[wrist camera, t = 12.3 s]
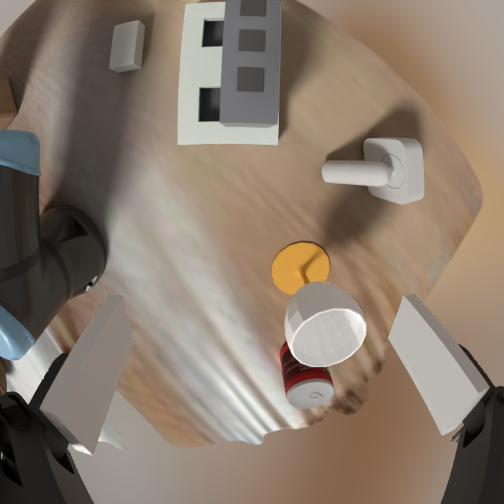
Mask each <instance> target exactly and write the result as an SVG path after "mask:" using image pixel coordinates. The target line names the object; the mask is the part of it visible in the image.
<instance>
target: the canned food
mask: <svg viewBox="0 0 504 504" xmlns="http://www.w3.org/2000/svg"><path fill="white" fill-rule="evenodd" d="M280 361H281V367H282V374H283V380H284V386H285V393H286V398H287V401H288V403H289V404H290V405H291V406H293V407H296V408H303V409H306V408H313V407H317V406H320V405H322V404H324V403H326V402H327V401H329V400H330V399H331V398H332V396H333V395H334V392H335V390H334V385H333V382H332V378H331V375H330V372H329V369H328V366H326V367H311V366H308V365H305V364H302V363H300V362H299V361H298V360H297V359H296V358H295V357H294V356H293V355H292V353H291V350H290V348H289V346H288V343H287V342H286V343H285V344H284V345H283V346H282V348H281V351H280Z"/></svg>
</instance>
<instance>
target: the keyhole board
mask: <svg viewBox="0 0 504 504" xmlns="http://www.w3.org/2000/svg"><path fill="white" fill-rule="evenodd" d="M224 14H225V2H207V3H193V4H186V7H185V16H184V25H183V35H182V46H181V59H180V75H179V97H178V145H188V144H262V145H278V128H279V105H278V124H277V125H275V126H272V127H269V128H253V127H225V126H223V125H222V124H220V90H221V66H222V46H223V29H224ZM280 65H281V4H280ZM279 100H280V69H279Z"/></svg>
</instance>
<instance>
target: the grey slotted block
mask: <svg viewBox="0 0 504 504" xmlns="http://www.w3.org/2000/svg"><path fill="white" fill-rule="evenodd" d="M279 69H280V0H226V1H225V14H224V29H223V46H222V66H221V90H220V124H222V125H223V126H225V127H253V128H269V127H272V126H275V125H277V124H278V105H279Z"/></svg>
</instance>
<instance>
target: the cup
mask: <svg viewBox="0 0 504 504" xmlns="http://www.w3.org/2000/svg"><path fill="white" fill-rule="evenodd" d="M329 269H330V264H329V258H328V256H327V255H326V253H325V252H324V250H323V249H322V248H321V247H319V246H317V245H315V244H314V243H307V242H299V243H295V244H291V245H289V246H287V247H286V248H285V249H283V250H282V251H280V252H279V254H278V255H277V257H276V258H275V260H274V261H273V266H272V272H271V273H272V276H273V280H274V283H275V284H276V285H277V286H278V288H279V289H280V290H281V291H283V292H286V293H288V294H290V295H293V297H292V298H291V300H290V302H289V303H288V308H287V312H286V317H285V322H284V326H285V335H286V339H287V343H288V346H289V348H290V350H291V353H292V355H293V356H294V357H295V358H296V359H297V360H298V361H299V362H300V363H302V364H305V365H308V366H311V367H326V366H330V365H333V364H337V363H340V362H341V361H343V360H345V359H346V358H348V357H350V356H351V355H353V353H354V352H355V351H356V350H357V349H358V348H359V347H360V346H361V345H362V343H363V340H364V338H365V336H366V320H365V317H364V314H363V312H362V310H361V309H360V307H359V305H358V304H357V302H356V301H355V300H354V299H353V297H352V296H351V295H350V294H349V293H348V292H346V291H345V290H343V289H342V288H340V287H338V286H336V285H335V284H333V283H329V282H324V281H325V280H326V279H327V277H328V273H329Z"/></svg>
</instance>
